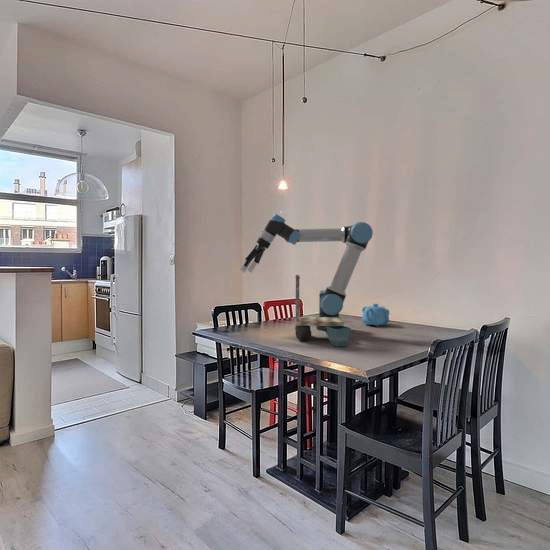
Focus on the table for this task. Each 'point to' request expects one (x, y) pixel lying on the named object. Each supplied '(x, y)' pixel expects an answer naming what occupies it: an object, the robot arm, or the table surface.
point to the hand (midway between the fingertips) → (245, 271)
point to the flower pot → (338, 335)
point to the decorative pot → (375, 315)
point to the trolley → (311, 320)
